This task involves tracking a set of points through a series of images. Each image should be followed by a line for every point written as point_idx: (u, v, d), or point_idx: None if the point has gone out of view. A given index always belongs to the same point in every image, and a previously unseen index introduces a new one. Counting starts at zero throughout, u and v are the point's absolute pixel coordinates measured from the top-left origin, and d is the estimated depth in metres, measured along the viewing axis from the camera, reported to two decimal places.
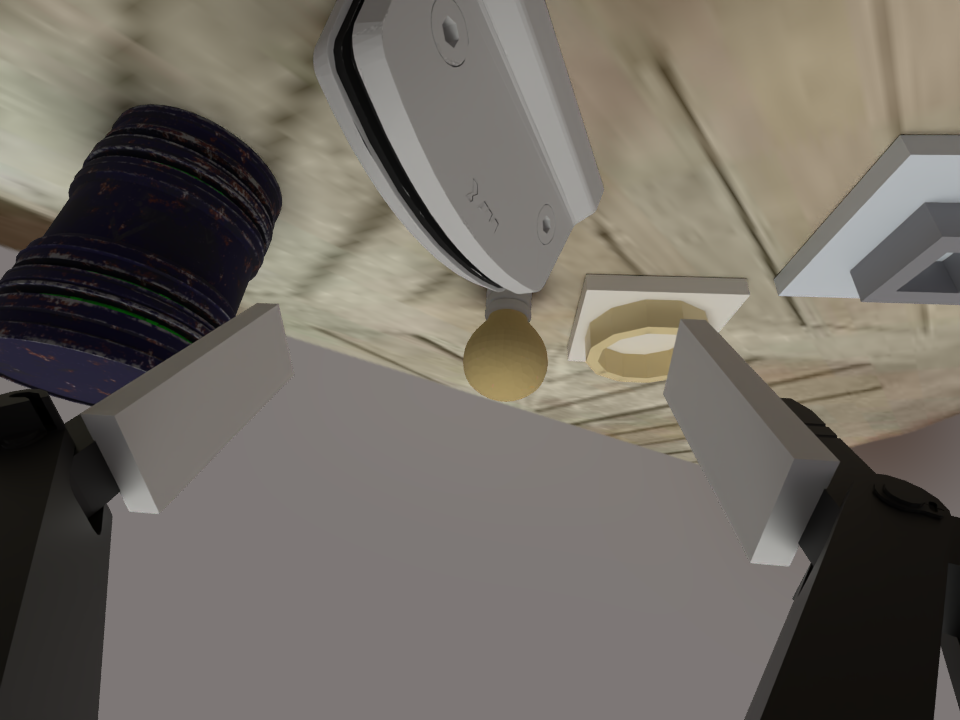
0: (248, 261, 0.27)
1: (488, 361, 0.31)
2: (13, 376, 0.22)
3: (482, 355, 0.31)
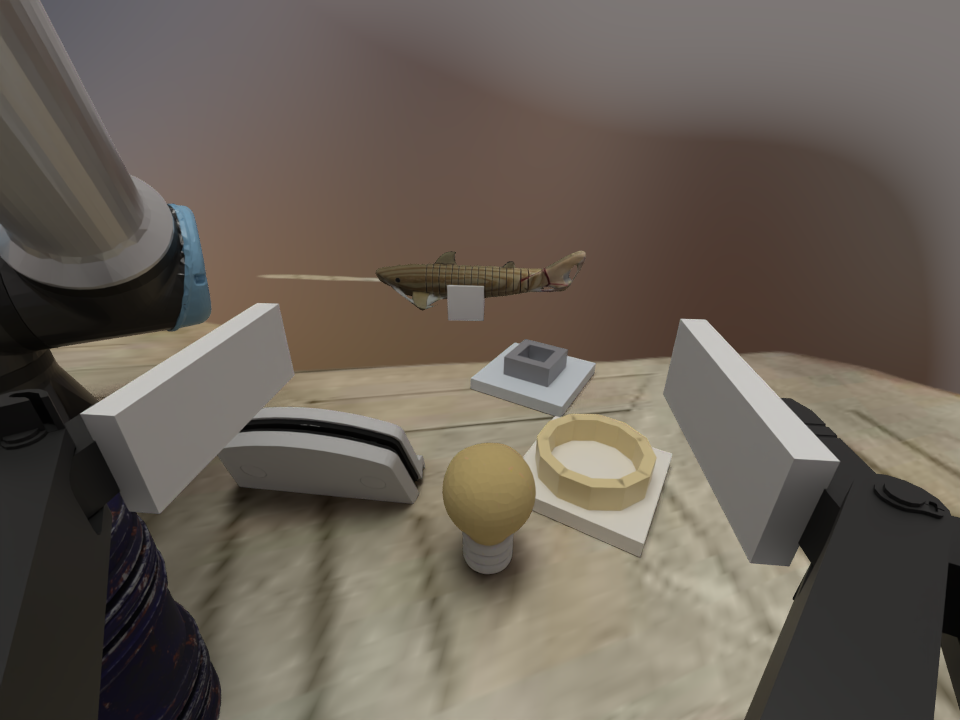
0: (180, 615, 0.23)
1: (448, 469, 0.30)
2: None
3: (444, 478, 0.30)
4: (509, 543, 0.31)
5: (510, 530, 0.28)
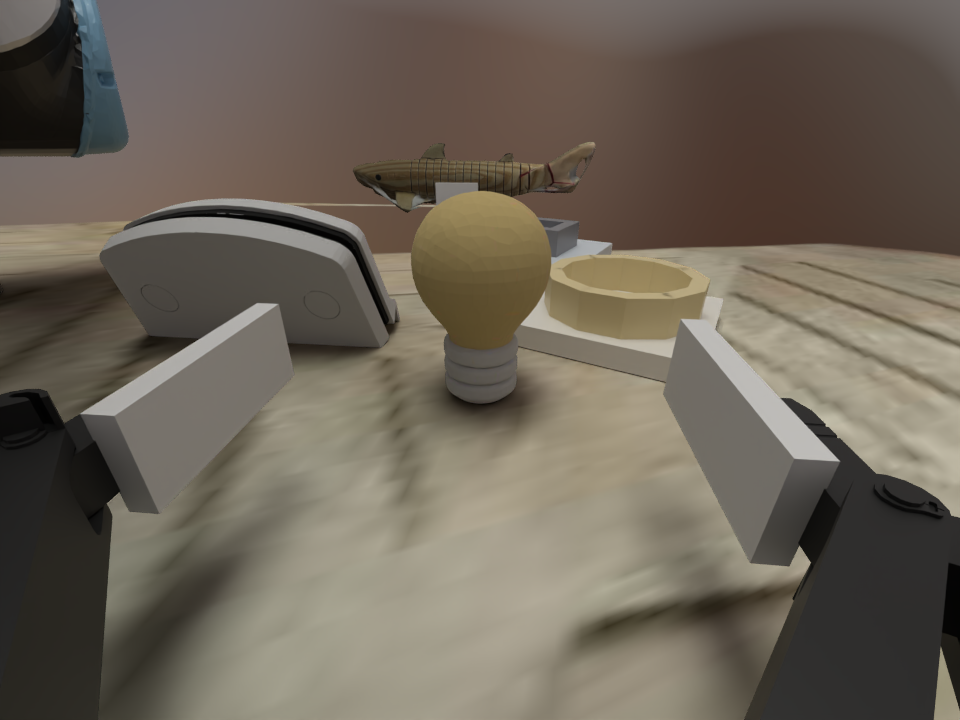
0: None
1: None
2: None
3: (414, 240, 0.20)
4: (512, 352, 0.21)
5: (514, 298, 0.18)
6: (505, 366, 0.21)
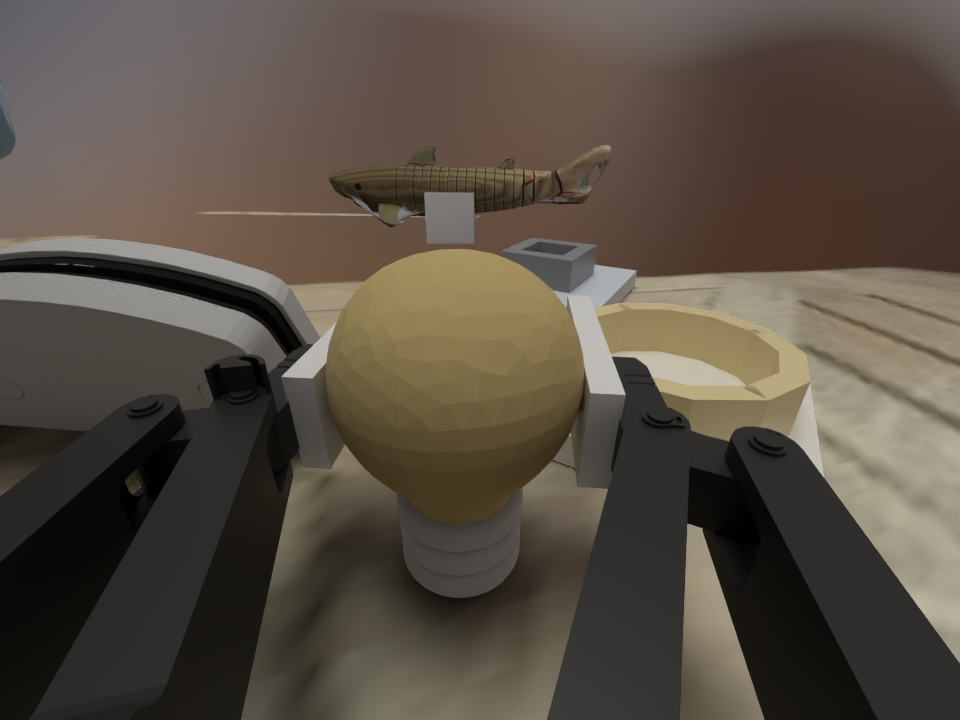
0: None
1: None
2: None
3: None
4: (512, 519, 0.12)
5: (515, 469, 0.09)
6: (500, 542, 0.12)
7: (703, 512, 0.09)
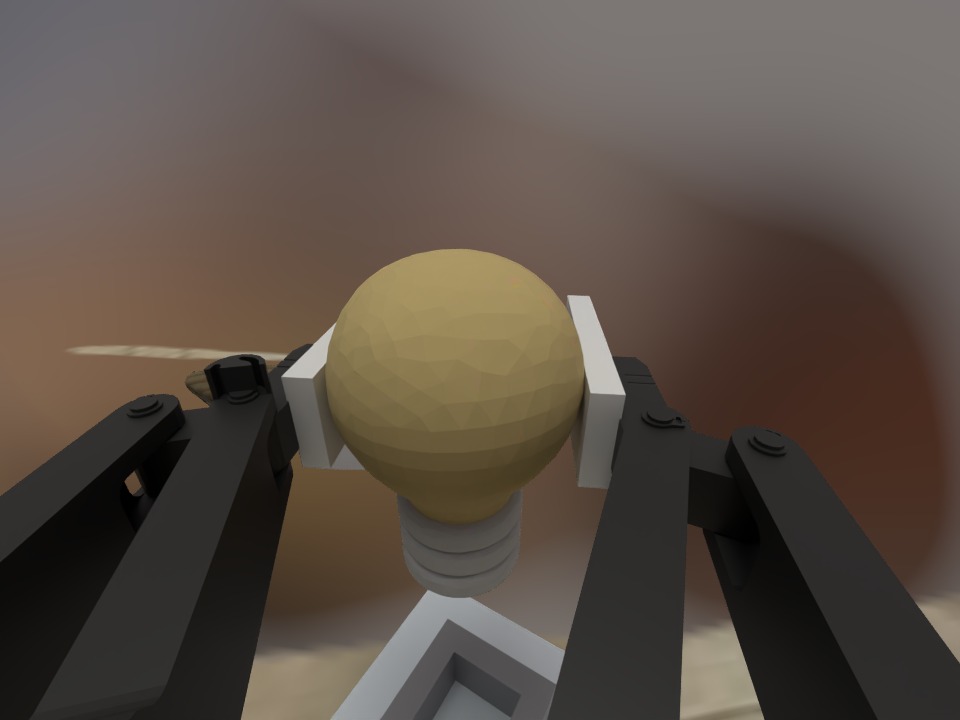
0: None
1: None
2: None
3: None
4: (512, 519, 0.12)
5: (515, 469, 0.09)
6: (500, 543, 0.12)
7: (703, 512, 0.09)
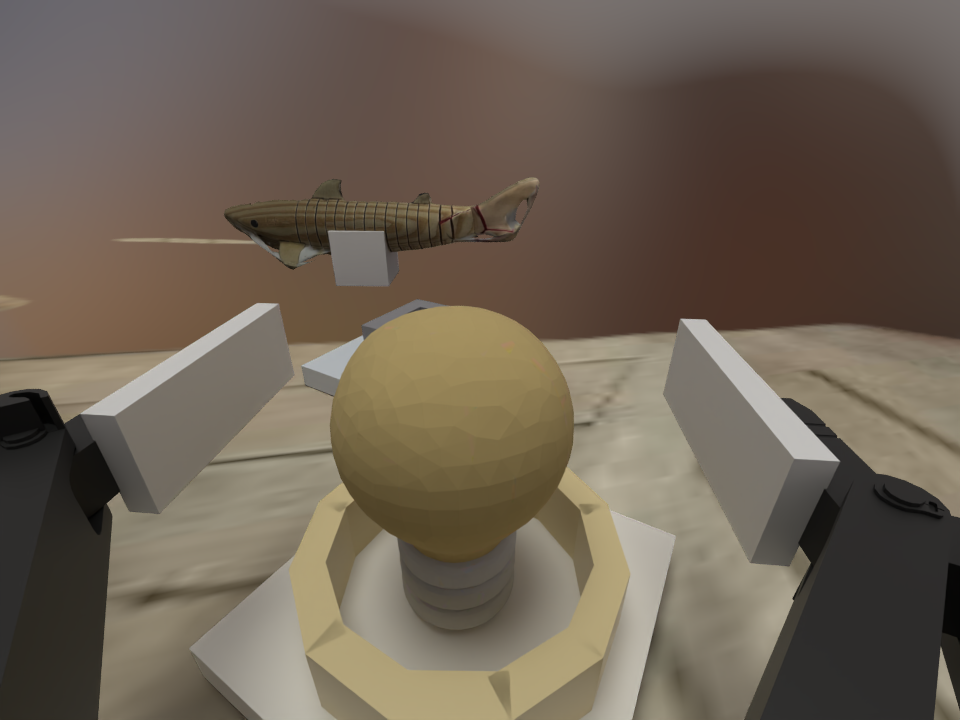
0: None
1: None
2: None
3: None
4: (506, 556, 0.13)
5: (508, 521, 0.10)
6: (495, 578, 0.13)
7: None
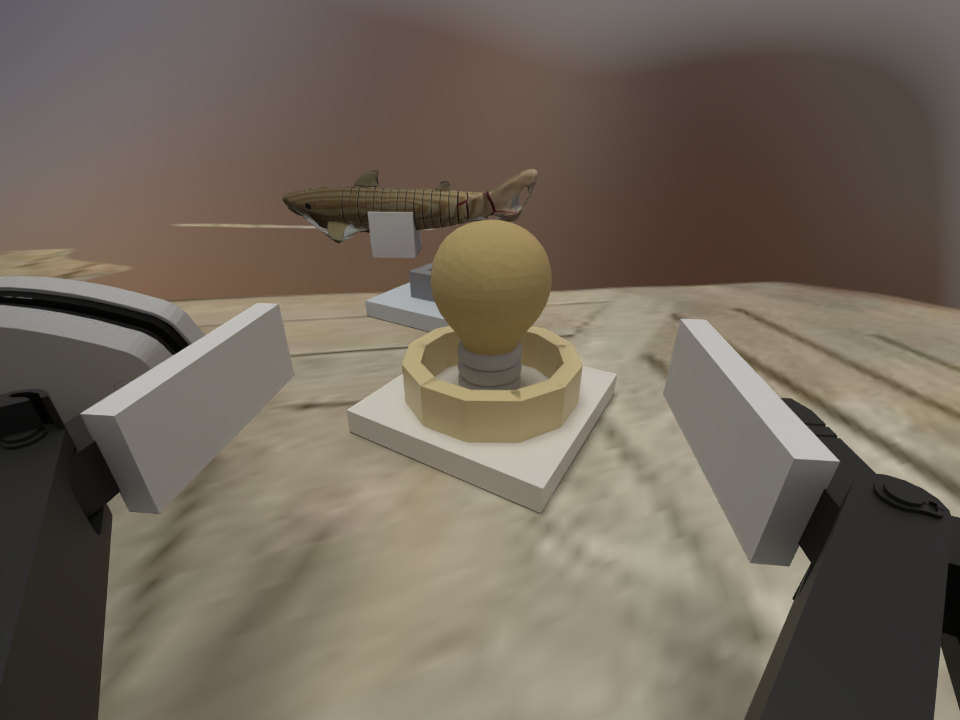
0: None
1: None
2: None
3: (433, 261, 0.23)
4: (517, 357, 0.24)
5: (519, 312, 0.21)
6: (511, 369, 0.24)
7: None
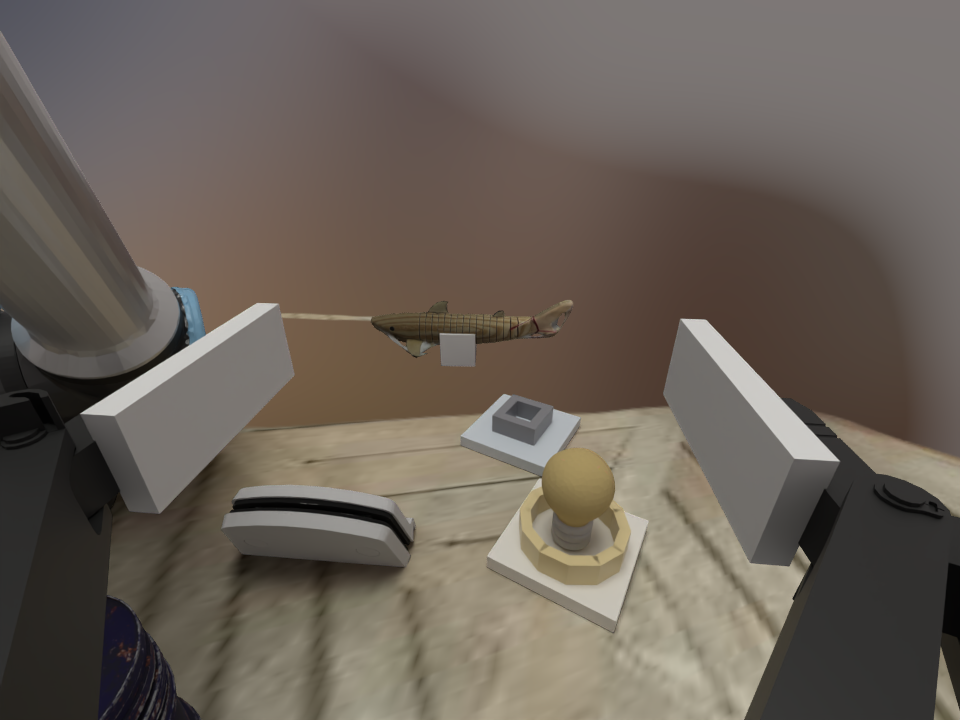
0: (187, 716, 0.26)
1: (546, 468, 0.39)
2: None
3: (544, 475, 0.39)
4: (591, 525, 0.40)
5: (599, 514, 0.37)
6: (587, 533, 0.40)
7: None
